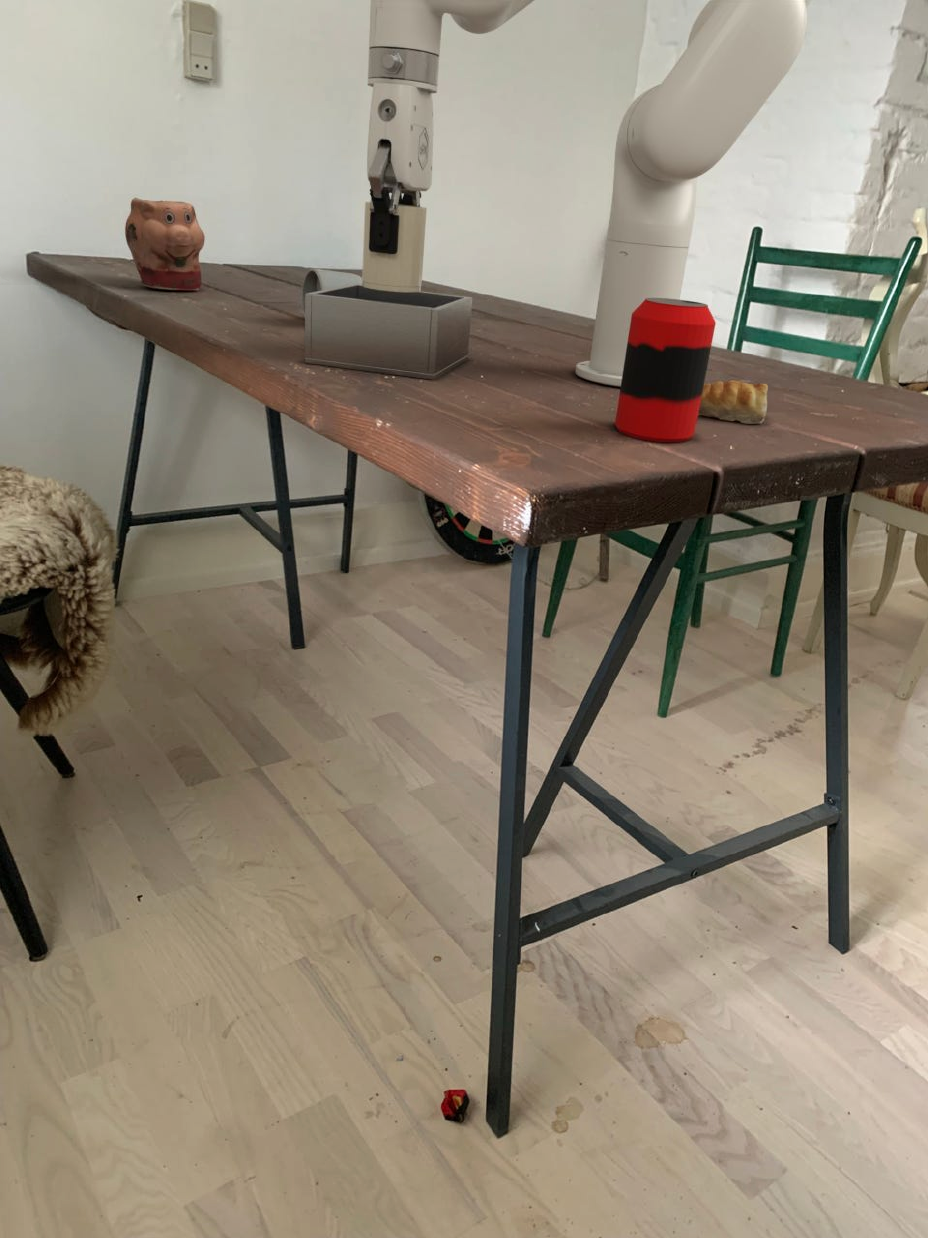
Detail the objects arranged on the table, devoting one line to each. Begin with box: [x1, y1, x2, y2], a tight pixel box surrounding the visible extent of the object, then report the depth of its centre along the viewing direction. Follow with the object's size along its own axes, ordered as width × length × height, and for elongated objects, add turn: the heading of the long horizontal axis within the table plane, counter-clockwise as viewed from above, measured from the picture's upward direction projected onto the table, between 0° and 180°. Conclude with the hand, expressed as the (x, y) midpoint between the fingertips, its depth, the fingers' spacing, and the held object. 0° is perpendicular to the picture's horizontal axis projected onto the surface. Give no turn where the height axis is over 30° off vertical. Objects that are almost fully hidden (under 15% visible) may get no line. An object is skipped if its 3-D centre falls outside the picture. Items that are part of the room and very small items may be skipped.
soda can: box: [614, 298, 717, 444], centre depth 85 cm, size 8×8×12 cm
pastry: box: [698, 379, 769, 425], centre depth 97 cm, size 9×7×4 cm
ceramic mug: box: [300, 268, 362, 318], centre depth 132 cm, size 11×8×8 cm
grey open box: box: [304, 284, 473, 381], centre depth 108 cm, size 16×16×8 cm
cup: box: [361, 201, 427, 293], centre depth 105 cm, size 7×7×9 cm
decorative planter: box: [124, 197, 206, 291], centre depth 153 cm, size 20×12×14 cm, turn 40°
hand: (393, 250), depth 105 cm, fingers closed on cup, 7 cm apart
